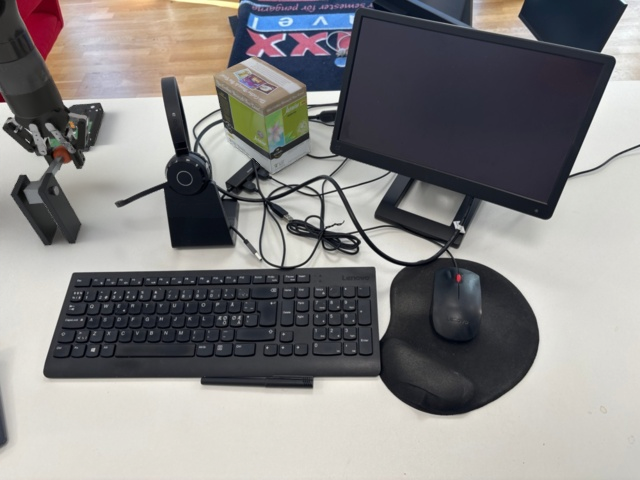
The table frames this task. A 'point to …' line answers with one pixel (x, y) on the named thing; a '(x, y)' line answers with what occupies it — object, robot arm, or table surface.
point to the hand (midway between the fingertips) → (69, 166)
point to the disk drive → (94, 123)
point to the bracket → (41, 215)
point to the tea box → (264, 113)
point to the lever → (60, 158)
